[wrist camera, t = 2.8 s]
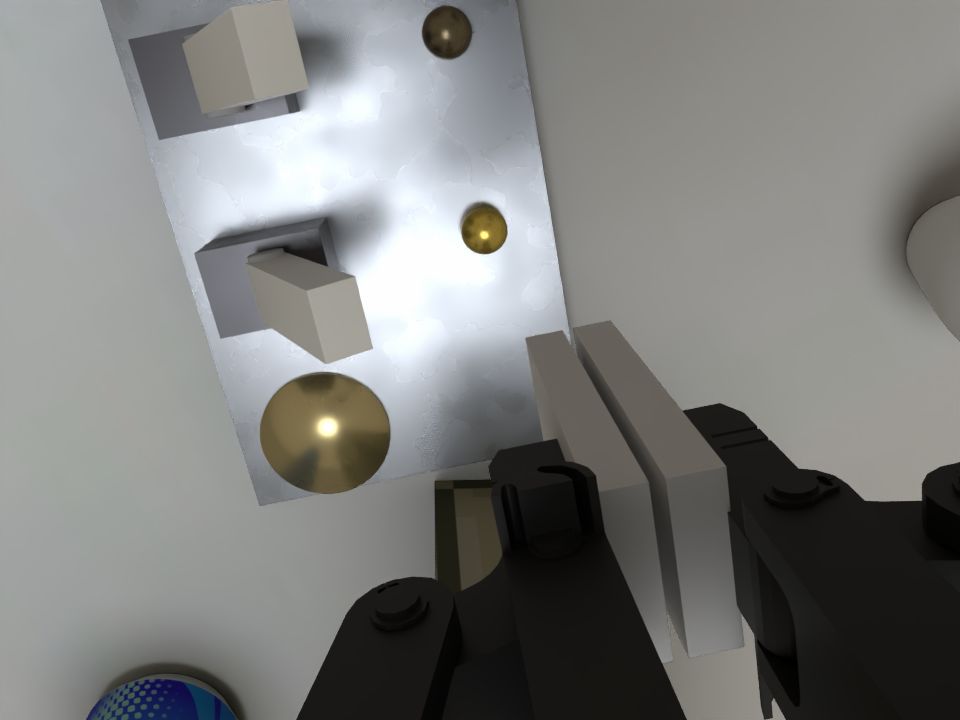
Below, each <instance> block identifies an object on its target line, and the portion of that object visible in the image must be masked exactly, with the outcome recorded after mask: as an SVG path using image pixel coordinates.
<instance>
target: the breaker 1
mask: <svg viewBox="0 0 960 720" xmlns="http://www.w3.org/2000/svg"><path fill="white" fill-rule="evenodd" d="M184 40H185V42H184V43H183V44H182V46H183V49H184V53H185V56H186V60H187V63H188V67H189V70H190V74H191V77H192V81H193V84H194V87H195V91H196V94H197V98H198V101H199V105H200V108H201V112H202V114H204V113H206V116H207V119H209V118H214V117H219V116H225V115H230V114H235V113H239V112H244V111H246V110H245V105H249V104H253V103H257V102H261V101H264V100H268V99H272V98H276V97H280V96H284V95H287V94H291V93H295V92H299V91H303V90H307V89H309V85H308V81H307V77H306V73H305V69H304V65H303V61H302V57H301V53H300V49H299V44H298V40H297V36H296V32H295V28H294V24H293V20H292V16H291V12H290V8H289V4H288V0H279V1H272V2H265V3H258V4H251V5H244V6H237V7H231V8H229V9H228V10H227V11H225V12H224V13H223V14H221V15H220V16H219V17H217V18H216V19H215V20H213V21H212V22H211V23H209V24H208V25H207V26H205V27H204V28H203V29H201V30H200V31H199V32H197V33H195V34H191V35H188V36H185V37H184Z"/></svg>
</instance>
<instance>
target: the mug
mask: <svg viewBox="0 0 960 720" xmlns="http://www.w3.org/2000/svg"><path fill="white" fill-rule="evenodd" d="M906 257H907V262H908V265H909V268H910V270H911V272H912V274H913V275H914V277H915V279H916V280H917V282H918V284H919V286H920V287H921V289H922V291H923V292H924V294H925V296H926V297H927V299H928V301H929V302H930V304H931V306H932V307H933V309H934V311H935V312H936V314H937V315H938V317H939V318H940V320H941V321H942V322H943V324H944V325H945V326H946V327H947V329H948V330H949V331H950V332H951V333H952V334H953V335H954V336H955V337H956V338H957V339H958V340H959V341H960V195H959V196H957V197H954V198H951V199H948V200H946V201H943V202H941V203H938V204H936V205H935V206H933V207H931V208H930V209H929V210H927V211H926V212H925V213H924V214H923V215H922V216H921V217H920V218H919V219H918V221H917V222H916V223H915V225H914V226H913V228H912V230H911V232H910V235H909V237H908V241H907V247H906Z"/></svg>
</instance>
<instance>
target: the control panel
mask: <svg viewBox="0 0 960 720" xmlns="http://www.w3.org/2000/svg"><path fill="white" fill-rule="evenodd" d="M491 493H492V483H491V480H450V481H435V576H436V580H437V581H440V582H442V583H445V584H446V585H447V587H448V588H449V589H450V590H451V592H452V593H453V594H455V593H457V592H460V591H462V590H464V589H466V588H468V587H470V586H472V585H474V584H476V583H478V582H479V581H481V580H482V579H483V578H485V577H486V576H487V575H489V574H490V573H491V572H492V571H493V570H494V568H495V567H496V566H497V565H498V563H499V561H500V559H501V557H502V549H501V544H500V540H499V535H498V530H497V525H496V520H495V516H494V511H493V506H492V501H491Z"/></svg>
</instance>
